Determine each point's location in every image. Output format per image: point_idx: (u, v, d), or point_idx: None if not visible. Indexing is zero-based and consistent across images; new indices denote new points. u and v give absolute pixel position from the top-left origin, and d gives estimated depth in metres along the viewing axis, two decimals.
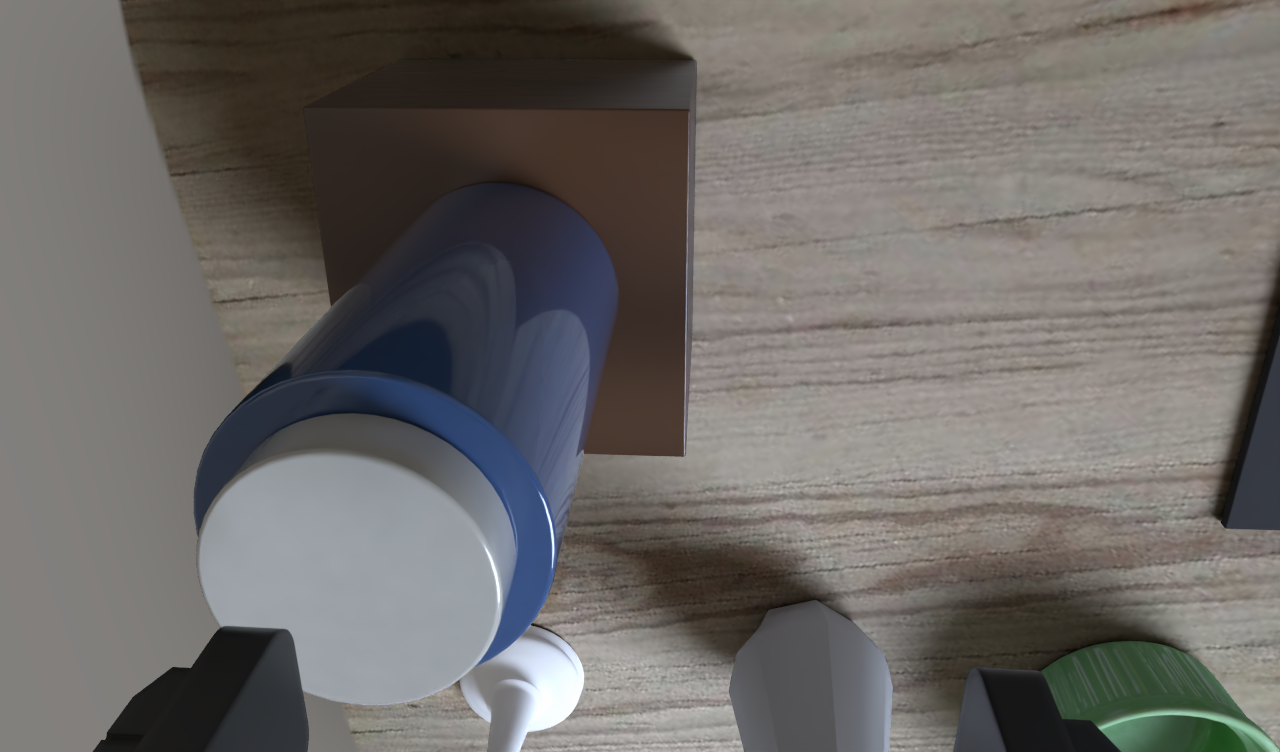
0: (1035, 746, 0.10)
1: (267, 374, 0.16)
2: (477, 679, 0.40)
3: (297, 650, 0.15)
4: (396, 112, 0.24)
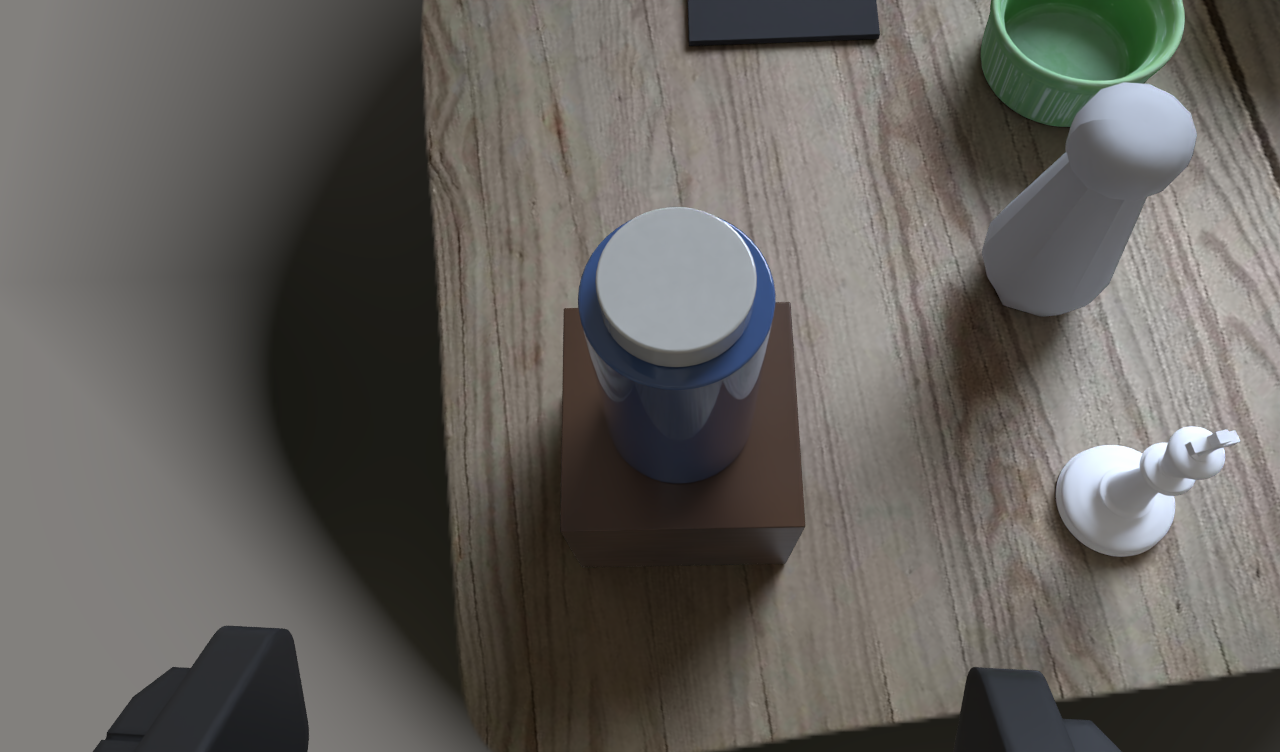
0: (1035, 746, 0.10)
1: (607, 378, 0.30)
2: (1115, 531, 0.44)
3: (720, 306, 0.27)
4: (564, 473, 0.38)
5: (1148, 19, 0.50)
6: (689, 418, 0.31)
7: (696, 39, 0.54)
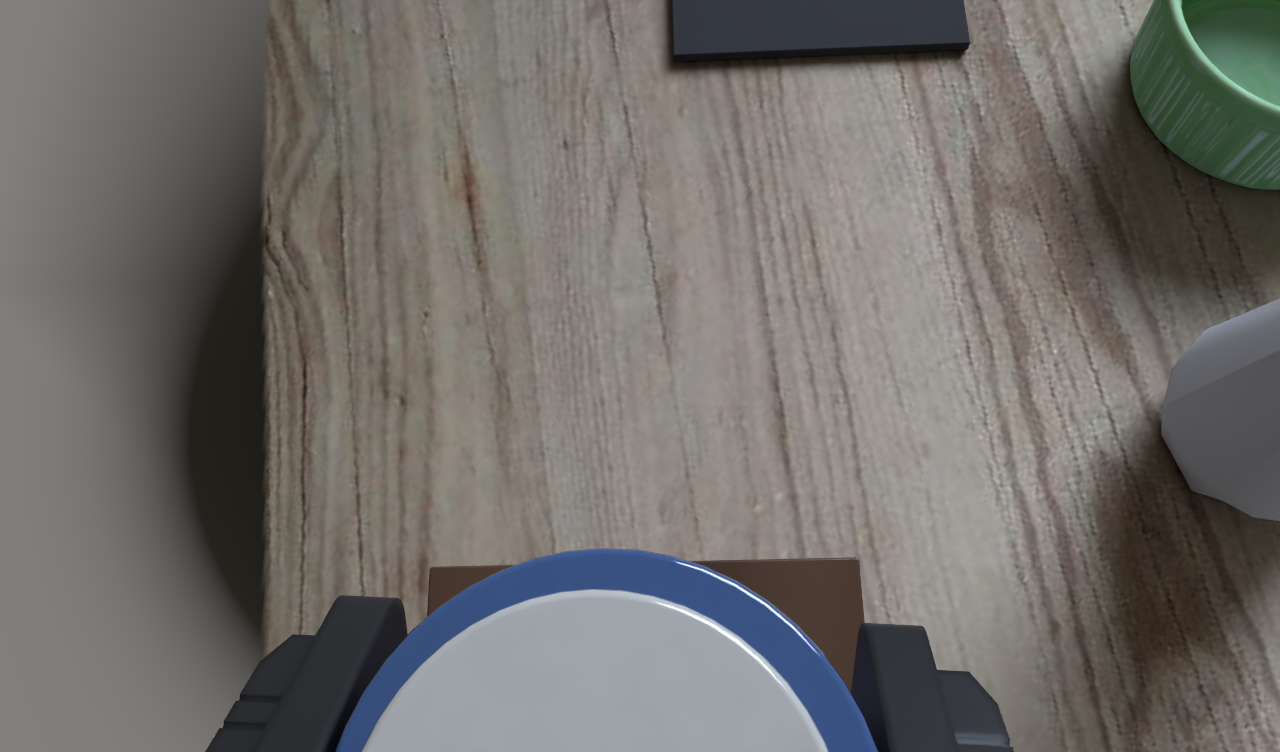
0: (907, 691, 0.11)
1: None
2: None
3: None
4: None
5: None
6: None
7: (685, 52, 0.35)
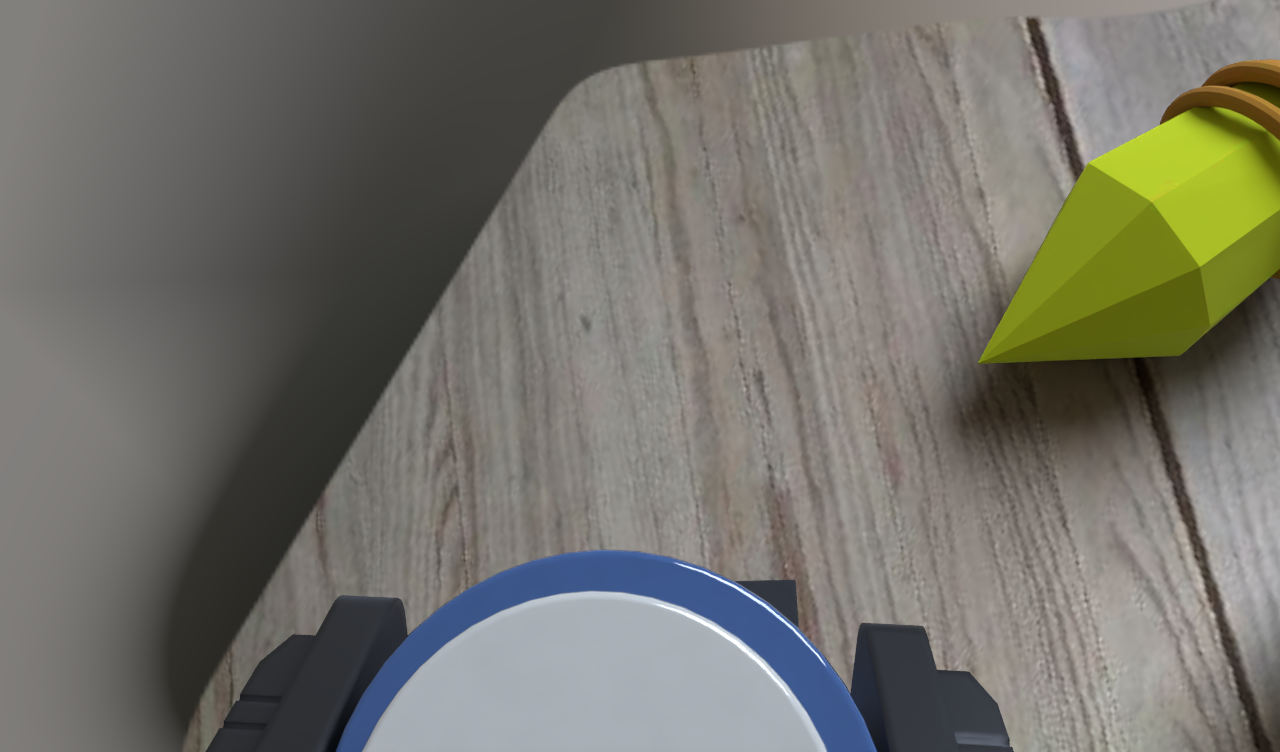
0: (906, 691, 0.11)
1: None
2: None
3: None
4: None
5: None
6: None
7: None
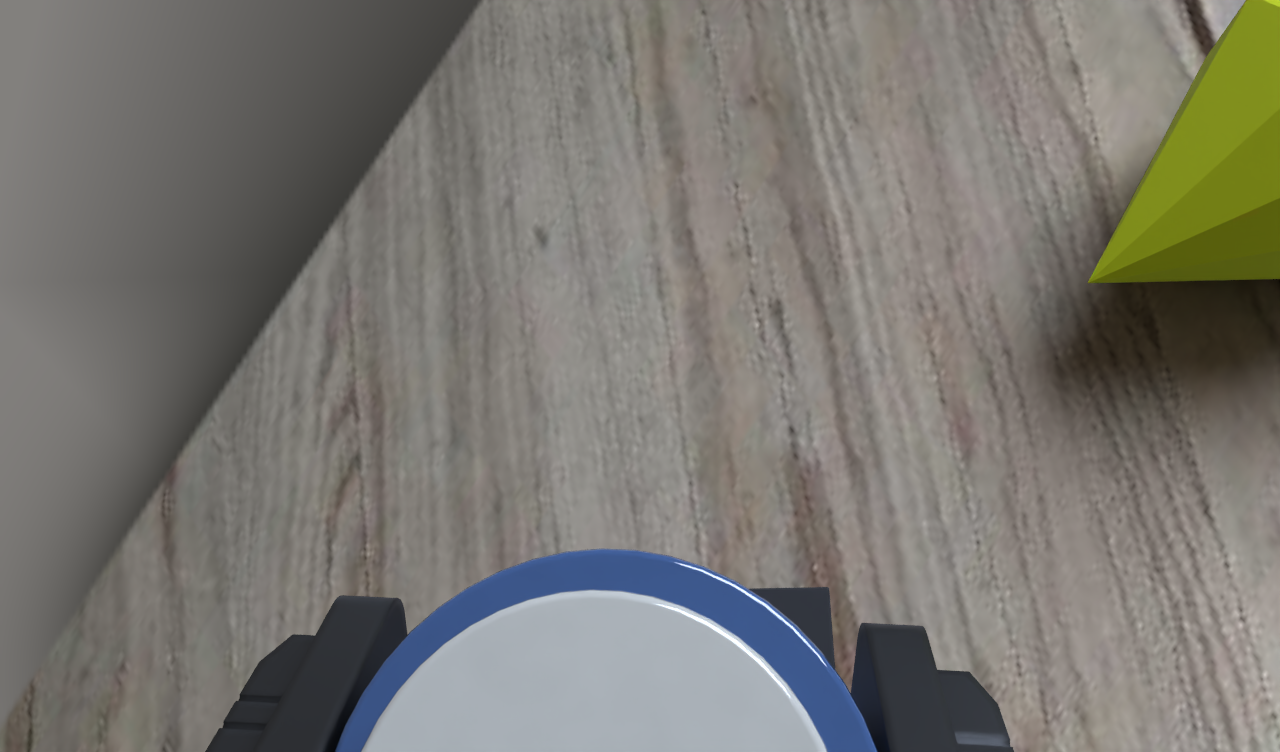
0: (907, 692, 0.11)
1: None
2: None
3: None
4: None
5: None
6: None
7: None
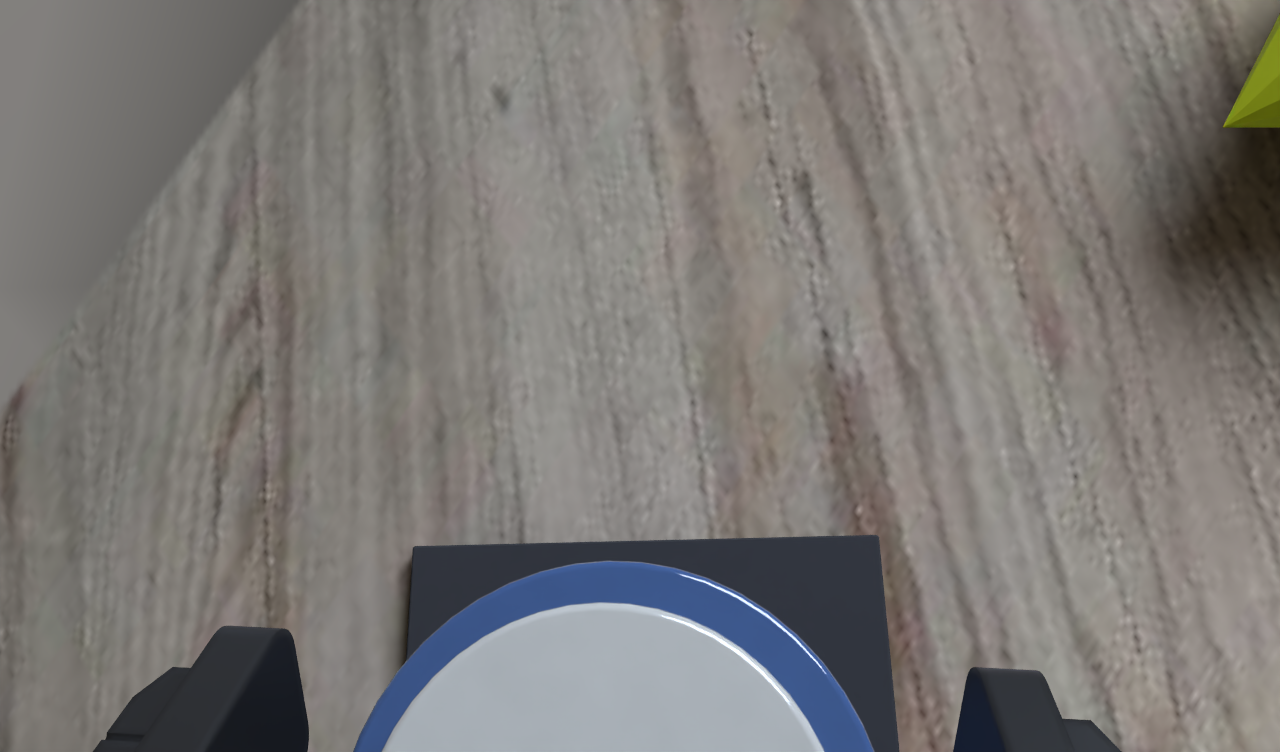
0: (1035, 746, 0.10)
1: None
2: None
3: None
4: None
5: None
6: None
7: None
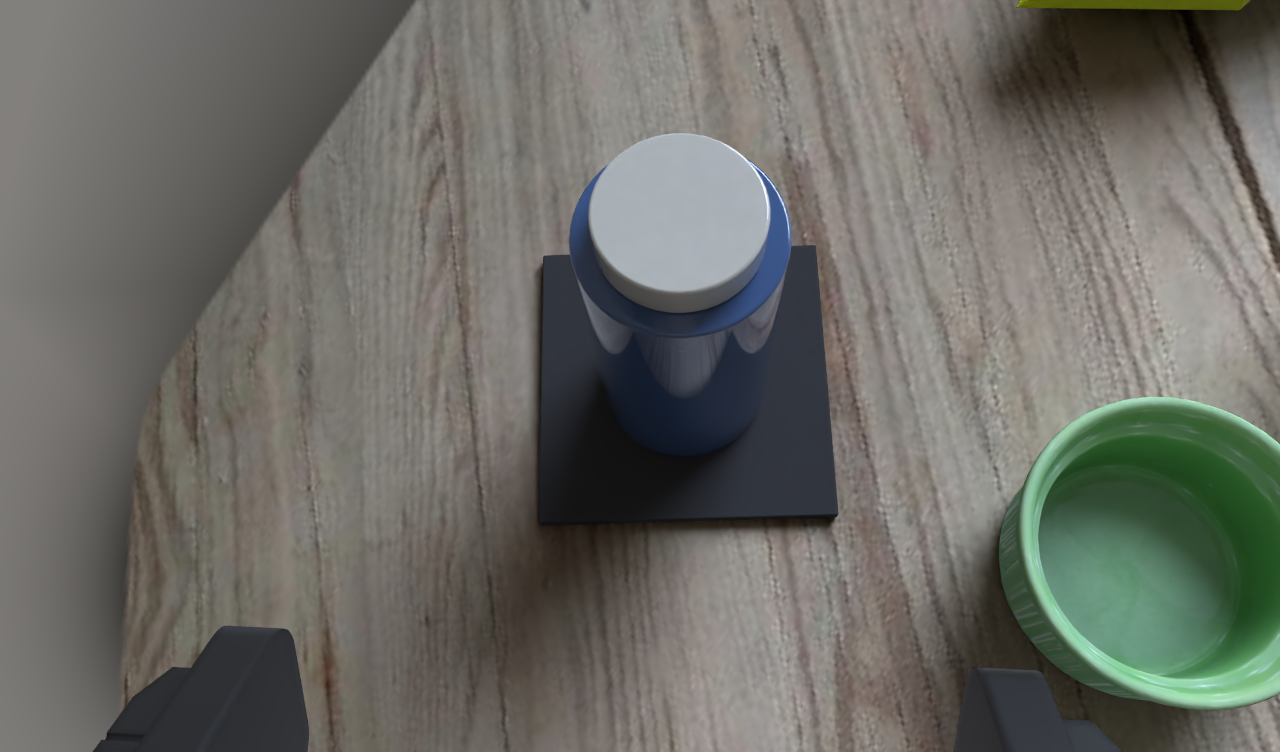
0: (1035, 746, 0.10)
1: (603, 329, 0.26)
2: None
3: (729, 242, 0.24)
4: None
5: (1277, 539, 0.30)
6: (695, 375, 0.27)
7: (550, 519, 0.34)
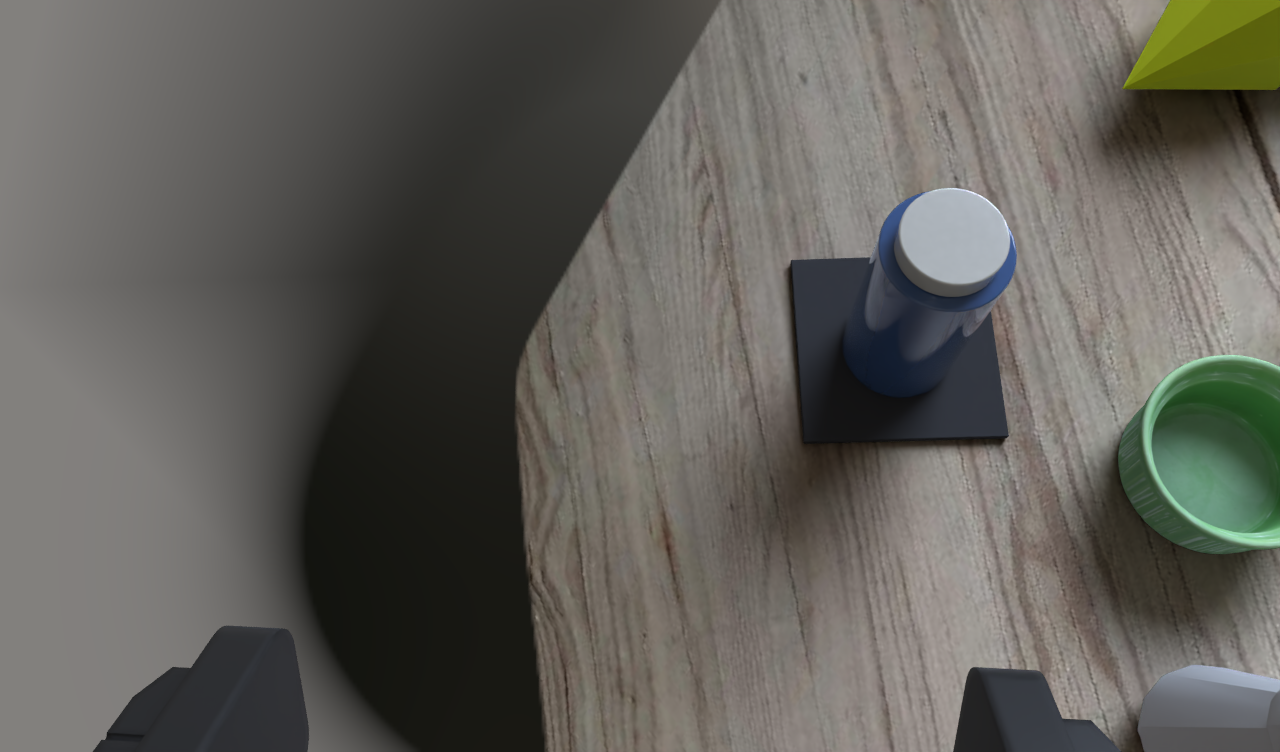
0: (1035, 746, 0.10)
1: (895, 307, 0.43)
2: None
3: (987, 254, 0.41)
4: None
5: None
6: (946, 337, 0.44)
7: (812, 439, 0.51)
